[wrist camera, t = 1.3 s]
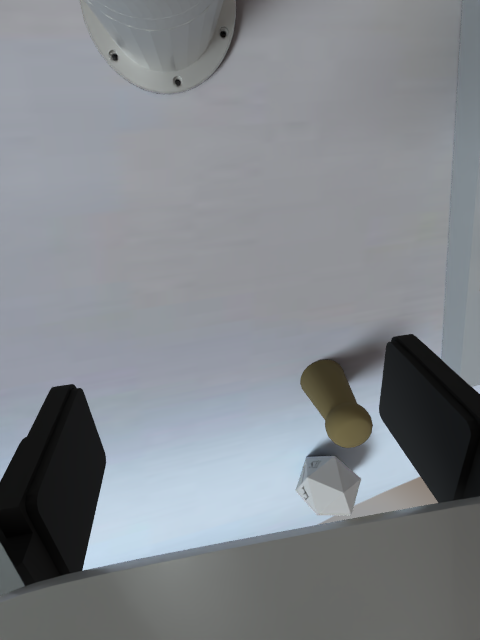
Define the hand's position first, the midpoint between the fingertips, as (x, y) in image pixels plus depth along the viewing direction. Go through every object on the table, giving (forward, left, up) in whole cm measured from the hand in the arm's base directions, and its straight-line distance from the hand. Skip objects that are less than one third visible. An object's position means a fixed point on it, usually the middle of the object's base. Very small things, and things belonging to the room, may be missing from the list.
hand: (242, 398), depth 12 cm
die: (+41, +9, -32) cm, 52 cm away
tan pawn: (+25, +11, -32) cm, 42 cm away
